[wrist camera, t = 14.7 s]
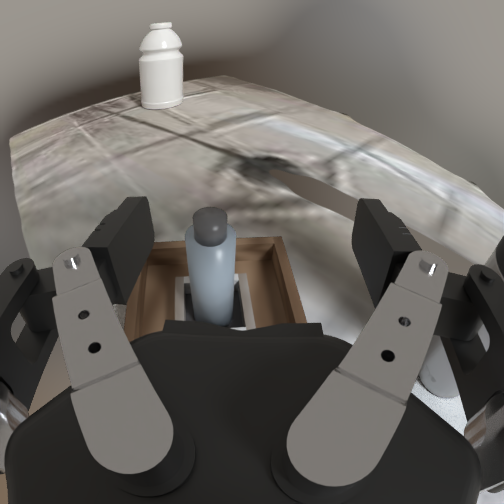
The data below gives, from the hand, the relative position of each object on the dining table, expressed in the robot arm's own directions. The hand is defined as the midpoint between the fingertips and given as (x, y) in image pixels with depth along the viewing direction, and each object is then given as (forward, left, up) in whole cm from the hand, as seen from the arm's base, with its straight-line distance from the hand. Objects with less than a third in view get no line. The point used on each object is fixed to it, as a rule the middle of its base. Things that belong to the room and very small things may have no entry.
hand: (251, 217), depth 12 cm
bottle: (+15, -92, -24) cm, 96 cm away
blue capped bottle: (+1, -11, -23) cm, 25 cm away
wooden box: (+1, -11, -24) cm, 26 cm away
